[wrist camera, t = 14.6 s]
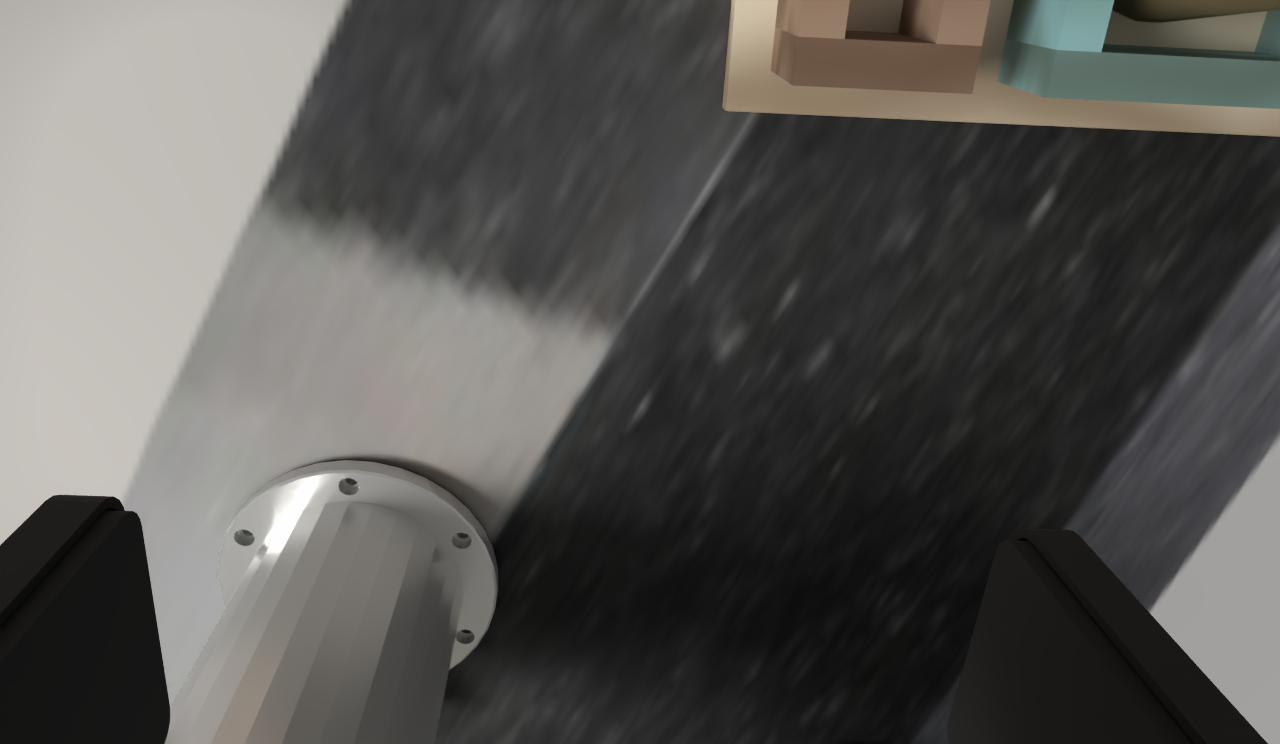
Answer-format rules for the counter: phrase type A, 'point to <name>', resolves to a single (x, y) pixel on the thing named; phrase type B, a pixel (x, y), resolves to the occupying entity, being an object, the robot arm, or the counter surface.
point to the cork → (1188, 8)
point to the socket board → (1005, 64)
